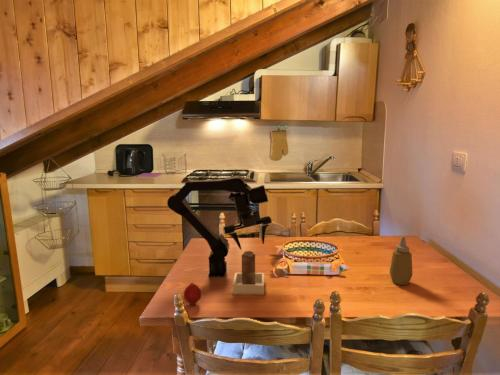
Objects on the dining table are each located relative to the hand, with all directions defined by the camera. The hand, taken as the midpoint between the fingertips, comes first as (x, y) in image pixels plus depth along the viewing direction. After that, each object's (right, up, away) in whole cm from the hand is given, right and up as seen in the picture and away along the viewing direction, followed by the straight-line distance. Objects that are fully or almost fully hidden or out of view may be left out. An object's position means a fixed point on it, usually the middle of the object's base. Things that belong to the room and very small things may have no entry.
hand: (252, 246), depth 145 cm
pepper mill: (-1, -14, -7) cm, 15 cm away
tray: (-1, -14, -7) cm, 16 cm away
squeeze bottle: (+57, -13, -4) cm, 58 cm away
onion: (-20, -17, -19) cm, 32 cm away
